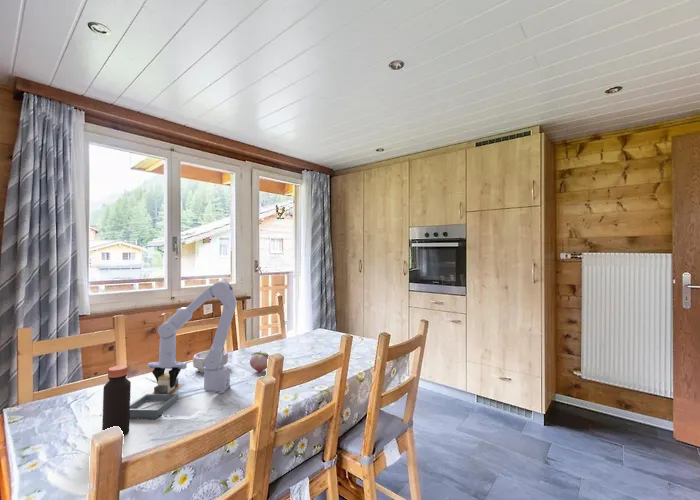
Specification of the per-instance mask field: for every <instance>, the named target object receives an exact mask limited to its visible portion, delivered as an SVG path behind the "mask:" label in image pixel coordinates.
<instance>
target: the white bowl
mask: <svg viewBox="0 0 700 500" xmlns="http://www.w3.org/2000/svg"><path fill="white" fill-rule="evenodd" d="M209 351H210V349H209V350H204V351H200V352H198V353H195V354H194V355H193V357H192V366H193V367H194V368H195V369H197V371H198V372H199V373H201V374H204V367H205V366H204V359H205V358H206V356H207V355H208V353H209ZM223 353H224V357H223V359H222V361H221V362H222V363H223V366H224V365H227V364H228V361H229V359H228V358H229V357H228V356H229V354H228V352H227V350H224V349H223ZM224 367H225V366H224Z"/></svg>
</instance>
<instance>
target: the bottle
mask: <svg viewBox="0 0 700 500" xmlns="http://www.w3.org/2000/svg"><path fill="white" fill-rule="evenodd" d="M128 367H129V366H127V365H125V364H124V365H123V364H122V365H115V366H111V367H109V368H108V369H107V379H108V381H107V382H106V383H105V384H104V385H103V389H102V390H103V392H102V393H103V395H102V396H103V397H102V424H101V425H102V426H101V428H102V429H101V431H102V430H105V429H107V428H110V427H113V426H119V427H120V428H121V430H122V431H123V434H124V436H123V437H125V436H126V435H128V433H129V432H130V420H131V419H130V404H131V383H132V382H131V381H130V380H129V379H128V378H127V376H128Z"/></svg>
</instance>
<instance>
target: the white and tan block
mask: <svg viewBox="0 0 700 500" xmlns="http://www.w3.org/2000/svg"><path fill="white" fill-rule="evenodd" d="M157 386H168V388H167V393H169V392H170V391H172V390H173V389H174V388H175V386H174V387H172V388H170V376H169V372H164V374H163V375H161V376H159V377H158V383H157Z"/></svg>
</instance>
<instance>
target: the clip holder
mask: <svg viewBox="0 0 700 500" xmlns="http://www.w3.org/2000/svg"><path fill="white" fill-rule="evenodd" d="M184 386H185V383H184V384H183V383H179V378H178V377H177V379H176V382H175V388H174V389H173V390H172V391H170V392H169V393H167V388H168V386H158V385H156V386H154V387H153V392H152V393H151V394H175V392H177V391H178V390H180V389H181V388H182V387H184Z"/></svg>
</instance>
